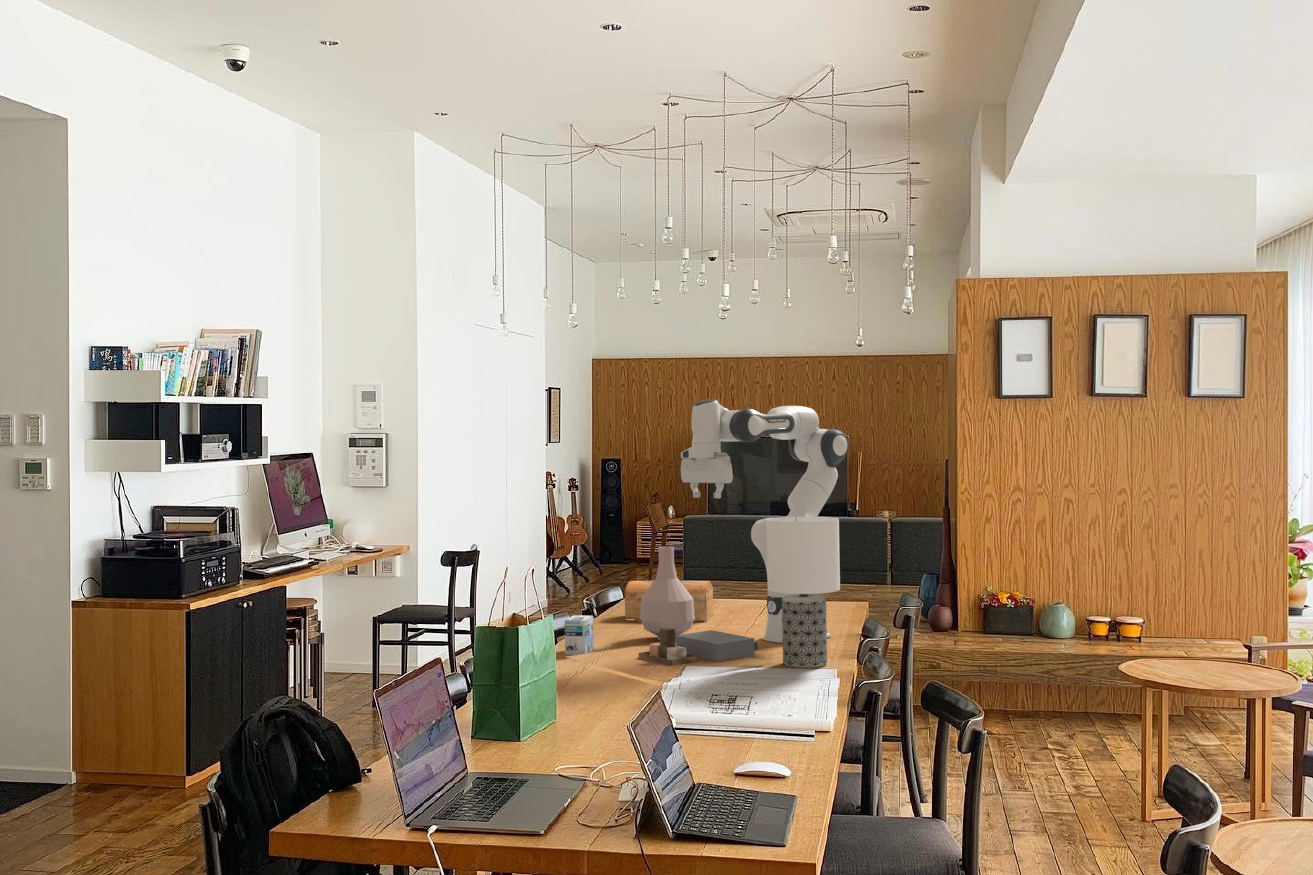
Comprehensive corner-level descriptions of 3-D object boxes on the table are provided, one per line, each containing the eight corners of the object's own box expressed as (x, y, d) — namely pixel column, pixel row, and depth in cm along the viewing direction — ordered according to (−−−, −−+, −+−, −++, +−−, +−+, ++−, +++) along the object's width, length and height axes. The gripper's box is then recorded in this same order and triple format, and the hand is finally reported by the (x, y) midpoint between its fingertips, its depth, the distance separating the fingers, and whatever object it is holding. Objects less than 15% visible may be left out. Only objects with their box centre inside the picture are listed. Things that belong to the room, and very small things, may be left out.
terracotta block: (660, 655, 348) (660, 642, 348) (668, 657, 345) (668, 644, 345) (649, 657, 346) (649, 643, 346) (657, 659, 343) (657, 645, 343)
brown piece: (665, 658, 351) (664, 623, 351) (698, 666, 338) (697, 630, 338) (638, 662, 345) (637, 627, 345) (670, 670, 333) (670, 633, 333)
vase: (673, 645, 370) (671, 550, 370) (629, 640, 380) (628, 548, 380) (705, 637, 384) (703, 546, 384) (662, 633, 394) (660, 544, 394)
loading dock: (714, 649, 363) (714, 629, 363) (757, 658, 347) (757, 637, 347) (675, 655, 354) (675, 635, 354) (717, 664, 338) (717, 643, 338)
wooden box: (714, 616, 432) (714, 578, 432) (706, 623, 416) (705, 583, 416) (635, 614, 439) (635, 577, 439) (624, 621, 423) (624, 583, 423)
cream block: (678, 659, 341) (677, 646, 341) (686, 661, 338) (686, 647, 338) (667, 661, 339) (666, 647, 339) (675, 663, 336) (675, 649, 336)
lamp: (848, 669, 327) (846, 520, 327) (775, 672, 325) (772, 522, 325) (832, 656, 347) (830, 515, 347) (763, 658, 346) (761, 517, 346)
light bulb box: (585, 655, 356) (585, 620, 356) (564, 655, 357) (563, 619, 357) (594, 649, 366) (593, 614, 366) (573, 649, 368) (573, 614, 368)
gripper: (737, 452, 353) (737, 498, 353) (692, 452, 369) (693, 496, 368) (721, 452, 349) (722, 499, 349) (677, 452, 365) (677, 497, 365)
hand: (706, 497), depth 359 cm, fingers open, 8 cm apart
